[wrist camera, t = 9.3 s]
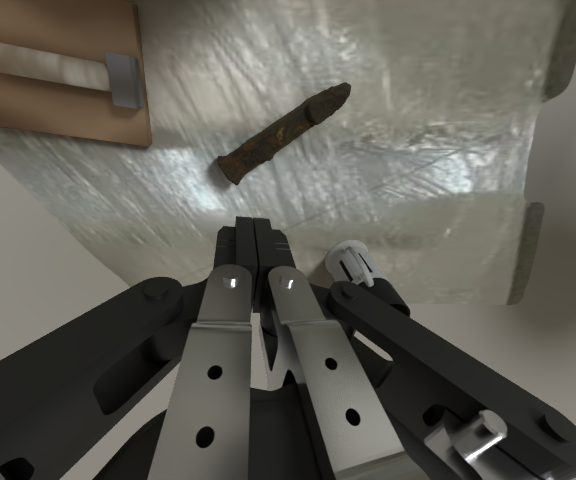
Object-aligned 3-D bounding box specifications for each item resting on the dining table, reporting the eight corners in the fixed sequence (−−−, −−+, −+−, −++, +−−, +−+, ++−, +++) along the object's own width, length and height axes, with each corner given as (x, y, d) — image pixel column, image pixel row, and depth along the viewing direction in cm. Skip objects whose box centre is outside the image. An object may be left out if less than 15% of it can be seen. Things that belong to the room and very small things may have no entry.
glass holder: (332, 281, 50) (364, 347, 37) (308, 230, 42) (338, 292, 30) (371, 264, 49) (417, 325, 37) (355, 208, 41) (406, 262, 29)
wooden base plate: (-113, -58, 20) (-186, -87, 16) (136, 6, 24) (120, -7, 20) (-32, 118, 26) (-71, 124, 23) (152, 143, 31) (141, 151, 27)
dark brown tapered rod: (234, 179, 35) (234, 192, 31) (216, 155, 33) (214, 165, 29) (350, 106, 33) (365, 109, 29) (339, 74, 30) (355, 73, 27)
